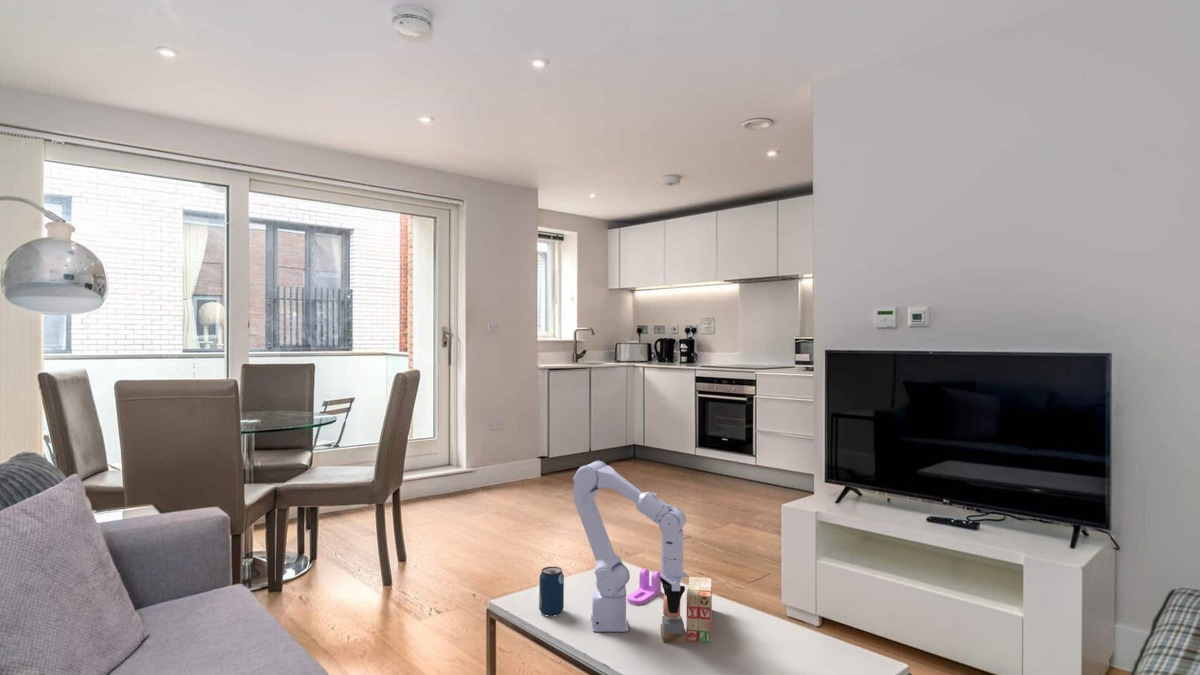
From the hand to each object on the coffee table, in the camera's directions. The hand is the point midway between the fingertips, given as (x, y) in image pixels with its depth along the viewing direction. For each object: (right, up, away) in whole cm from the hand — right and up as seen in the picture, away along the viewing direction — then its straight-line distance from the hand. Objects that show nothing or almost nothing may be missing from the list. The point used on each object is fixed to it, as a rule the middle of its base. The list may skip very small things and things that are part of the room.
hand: (671, 608), depth 167 cm
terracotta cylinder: (0, -1, 0) cm, 1 cm away
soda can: (-33, -8, +15) cm, 37 cm away
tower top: (0, -5, 0) cm, 5 cm away
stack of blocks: (+9, -8, +8) cm, 14 cm away
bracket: (-6, -8, +27) cm, 28 cm away
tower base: (0, -8, 0) cm, 8 cm away
